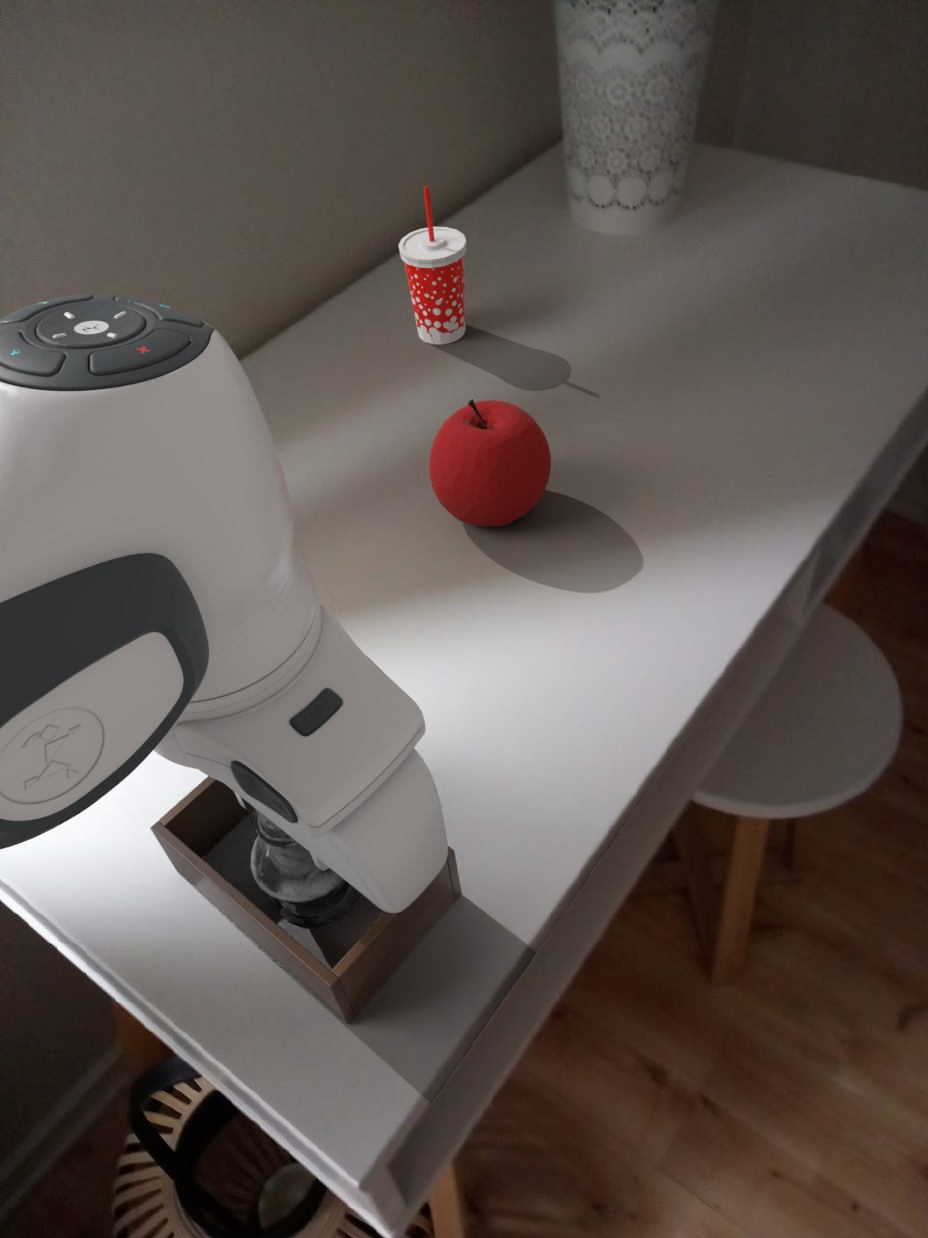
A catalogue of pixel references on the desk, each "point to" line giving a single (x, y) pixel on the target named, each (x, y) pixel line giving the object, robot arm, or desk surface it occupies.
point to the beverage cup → (436, 279)
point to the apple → (489, 463)
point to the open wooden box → (342, 990)
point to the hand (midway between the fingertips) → (294, 828)
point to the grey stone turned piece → (296, 878)
